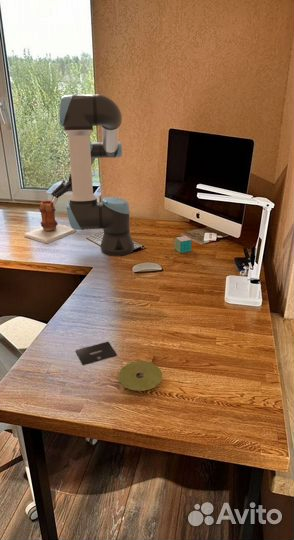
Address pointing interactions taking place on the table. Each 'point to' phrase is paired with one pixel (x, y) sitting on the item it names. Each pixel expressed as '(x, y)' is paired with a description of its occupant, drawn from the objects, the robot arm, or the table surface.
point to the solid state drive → (95, 353)
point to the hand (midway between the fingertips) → (60, 211)
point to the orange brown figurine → (48, 215)
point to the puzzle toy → (183, 244)
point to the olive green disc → (140, 375)
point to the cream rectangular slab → (50, 233)
